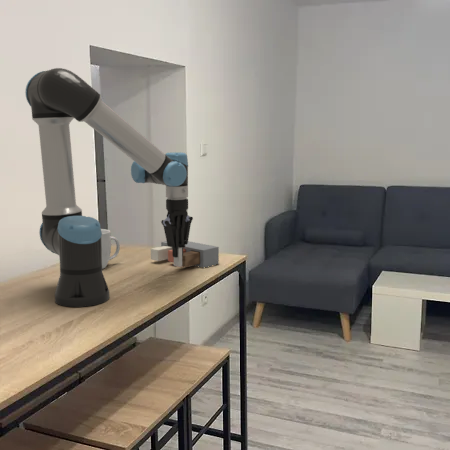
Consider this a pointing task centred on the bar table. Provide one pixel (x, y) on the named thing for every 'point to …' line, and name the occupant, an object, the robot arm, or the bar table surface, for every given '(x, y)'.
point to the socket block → (202, 253)
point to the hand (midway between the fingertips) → (178, 265)
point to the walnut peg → (190, 258)
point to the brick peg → (170, 256)
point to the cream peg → (160, 253)
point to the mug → (108, 247)
